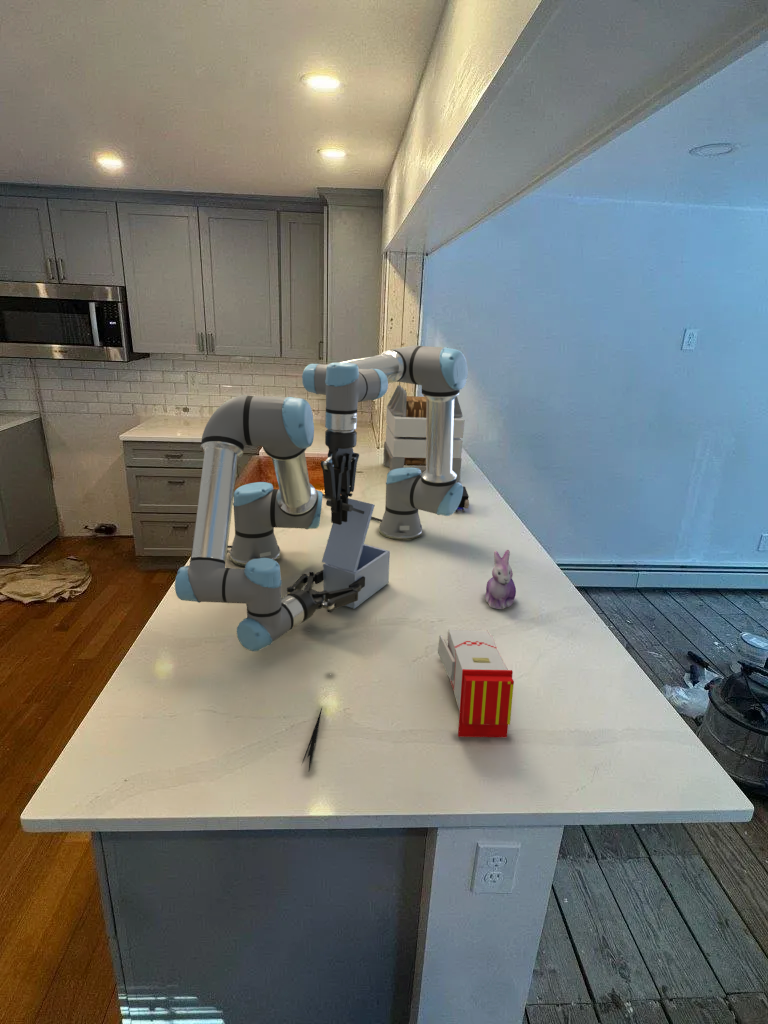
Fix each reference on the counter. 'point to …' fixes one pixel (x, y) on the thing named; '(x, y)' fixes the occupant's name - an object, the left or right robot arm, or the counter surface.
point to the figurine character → (464, 500)
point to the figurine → (501, 583)
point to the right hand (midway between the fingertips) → (339, 521)
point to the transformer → (415, 432)
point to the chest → (360, 574)
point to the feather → (313, 740)
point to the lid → (348, 535)
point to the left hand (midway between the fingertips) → (346, 575)
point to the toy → (478, 682)
